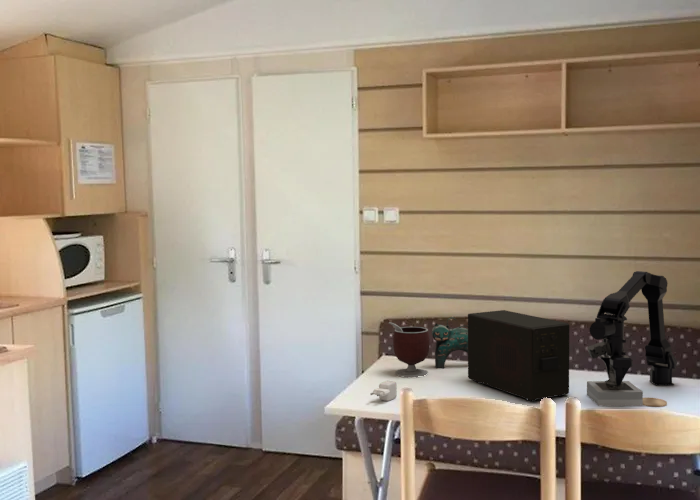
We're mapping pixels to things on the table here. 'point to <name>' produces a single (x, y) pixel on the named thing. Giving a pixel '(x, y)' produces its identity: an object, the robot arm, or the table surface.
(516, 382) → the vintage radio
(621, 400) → the breaker guard
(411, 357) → the mate gourd
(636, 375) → the table surface
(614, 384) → the salt shaker
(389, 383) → the power adapter
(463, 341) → the ceramic cat
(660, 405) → the coaster
